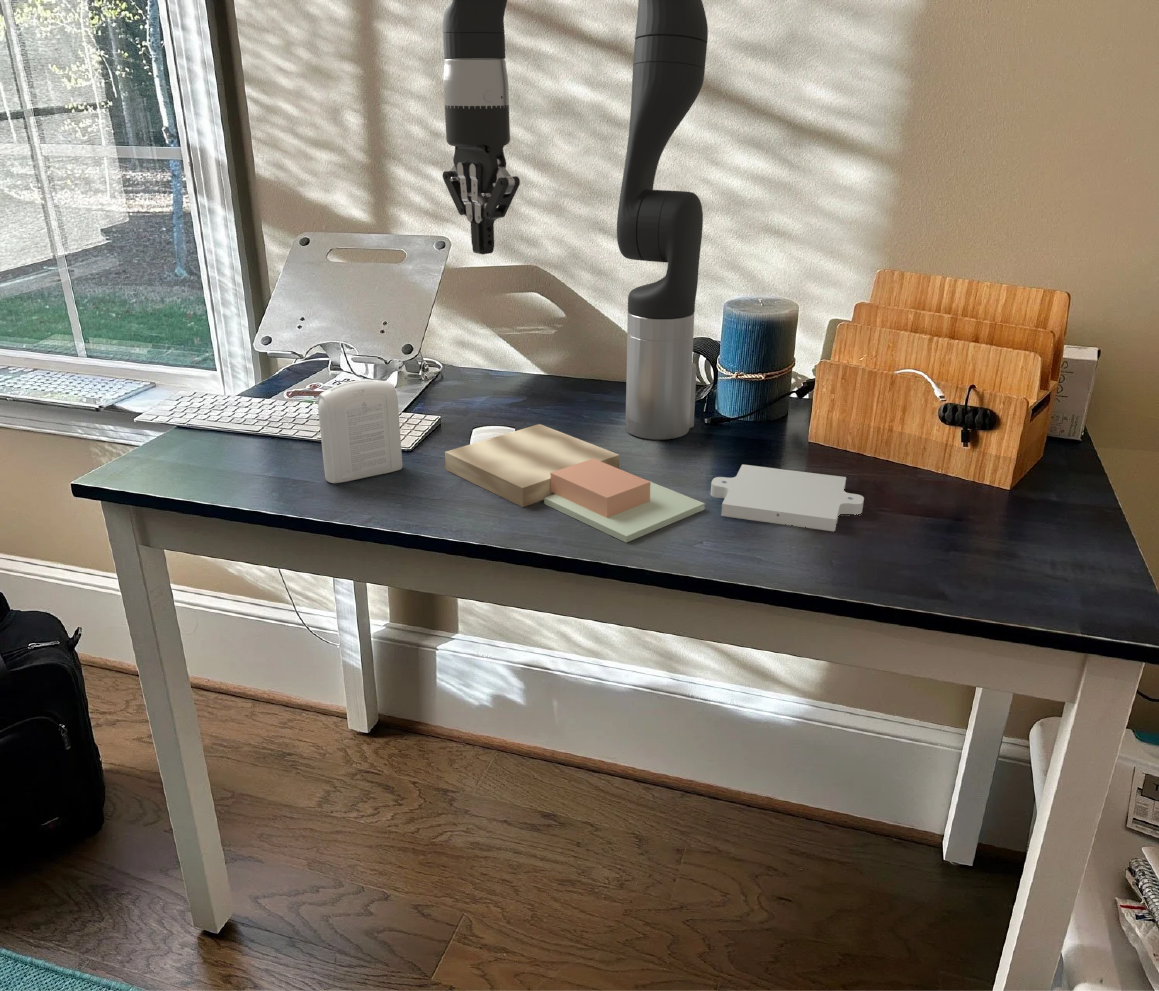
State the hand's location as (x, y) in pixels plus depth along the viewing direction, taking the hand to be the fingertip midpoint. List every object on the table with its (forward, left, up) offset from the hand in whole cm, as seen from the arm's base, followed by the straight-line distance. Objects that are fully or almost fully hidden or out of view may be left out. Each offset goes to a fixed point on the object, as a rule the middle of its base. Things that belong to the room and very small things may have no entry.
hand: (483, 252), depth 118 cm
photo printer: (+16, -6, -27) cm, 32 cm away
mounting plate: (-17, +36, -28) cm, 48 cm away
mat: (-2, +24, -27) cm, 36 cm away
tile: (0, +21, -26) cm, 34 cm away
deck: (0, +8, -27) cm, 28 cm away
